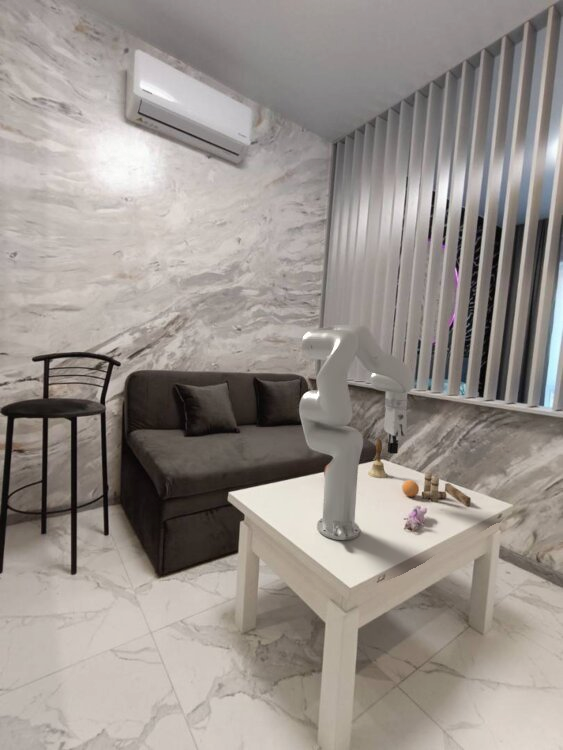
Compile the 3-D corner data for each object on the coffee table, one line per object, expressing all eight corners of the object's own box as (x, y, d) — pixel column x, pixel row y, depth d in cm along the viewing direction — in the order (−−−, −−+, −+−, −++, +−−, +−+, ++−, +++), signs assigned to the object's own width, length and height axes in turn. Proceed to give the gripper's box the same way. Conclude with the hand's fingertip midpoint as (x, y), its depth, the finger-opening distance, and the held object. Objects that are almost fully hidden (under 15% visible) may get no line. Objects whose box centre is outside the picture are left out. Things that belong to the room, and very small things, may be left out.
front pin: (424, 499, 132) (446, 499, 133) (425, 493, 132) (446, 493, 132) (421, 496, 134) (442, 496, 135) (421, 490, 134) (443, 490, 135)
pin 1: (431, 496, 135) (433, 474, 134) (425, 496, 135) (427, 474, 134) (428, 493, 137) (430, 472, 137) (422, 493, 137) (423, 472, 137)
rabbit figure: (419, 539, 106) (432, 514, 117) (419, 522, 104) (432, 498, 116) (398, 532, 109) (412, 509, 121) (398, 515, 108) (413, 493, 120)
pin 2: (438, 502, 130) (440, 479, 129) (432, 502, 130) (434, 479, 129) (435, 499, 132) (436, 477, 132) (428, 499, 132) (430, 477, 132)
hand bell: (378, 479, 151) (380, 442, 150) (364, 473, 158) (366, 438, 157) (391, 476, 155) (393, 440, 154) (377, 470, 162) (379, 436, 161)
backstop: (470, 506, 128) (470, 498, 127) (466, 506, 127) (466, 498, 127) (448, 490, 141) (449, 483, 141) (444, 490, 141) (445, 483, 141)
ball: (409, 478, 132) (405, 494, 130) (423, 483, 132) (420, 499, 131) (401, 477, 138) (397, 492, 136) (414, 482, 138) (411, 498, 136)
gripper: (415, 407, 122) (411, 459, 124) (397, 401, 137) (394, 447, 139) (394, 406, 122) (390, 458, 123) (378, 400, 137) (375, 447, 138)
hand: (392, 452), depth 131 cm, fingers closed
